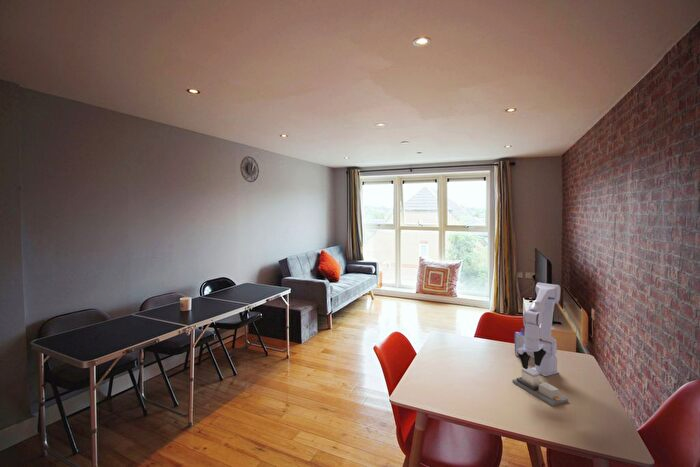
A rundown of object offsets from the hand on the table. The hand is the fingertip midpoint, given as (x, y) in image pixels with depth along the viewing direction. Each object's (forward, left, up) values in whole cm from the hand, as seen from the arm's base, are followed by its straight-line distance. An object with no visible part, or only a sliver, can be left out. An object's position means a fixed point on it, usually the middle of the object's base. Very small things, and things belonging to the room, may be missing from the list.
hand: (531, 366), depth 143 cm
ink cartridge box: (-25, -25, -10) cm, 37 cm away
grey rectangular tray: (0, +4, -9) cm, 10 cm away
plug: (0, 0, -8) cm, 8 cm away
